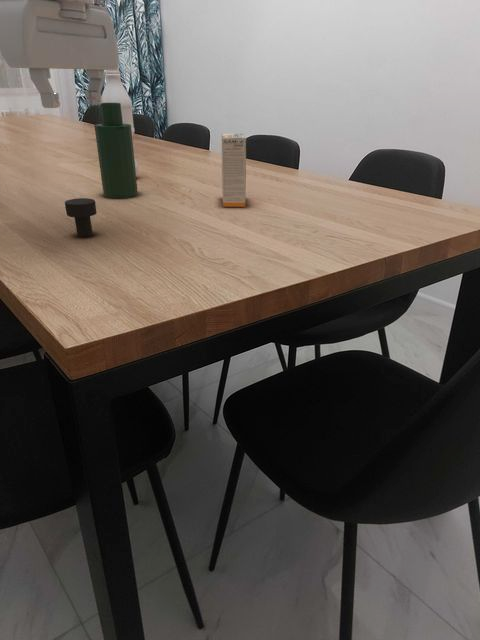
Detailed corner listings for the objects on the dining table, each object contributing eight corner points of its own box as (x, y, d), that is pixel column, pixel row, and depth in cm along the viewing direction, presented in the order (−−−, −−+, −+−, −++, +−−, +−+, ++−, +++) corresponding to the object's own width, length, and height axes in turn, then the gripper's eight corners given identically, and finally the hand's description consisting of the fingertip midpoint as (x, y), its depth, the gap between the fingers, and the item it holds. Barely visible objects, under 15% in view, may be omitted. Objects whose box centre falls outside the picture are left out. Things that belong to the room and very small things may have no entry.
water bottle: (139, 175, 130) (128, 64, 117) (138, 180, 123) (127, 64, 111) (111, 176, 128) (97, 63, 116) (108, 181, 122) (93, 63, 110)
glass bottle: (112, 200, 105) (100, 104, 96) (98, 193, 110) (85, 102, 101) (143, 195, 109) (134, 103, 100) (128, 190, 114) (119, 101, 105)
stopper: (76, 241, 80) (70, 206, 77) (66, 234, 83) (60, 200, 80) (104, 236, 82) (99, 202, 80) (93, 229, 85) (88, 196, 83)
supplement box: (246, 207, 101) (246, 137, 95) (222, 207, 101) (221, 137, 95) (244, 198, 109) (244, 132, 102) (222, 198, 108) (221, 132, 102)
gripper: (87, -2, 74) (99, 102, 81) (-25, -25, 57) (2, 108, 64) (123, -3, 73) (133, 103, 79) (19, -27, 56) (42, 111, 62)
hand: (74, 106), depth 72 cm, fingers open, 8 cm apart
